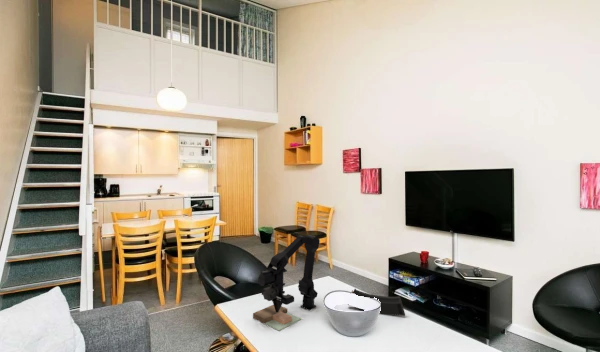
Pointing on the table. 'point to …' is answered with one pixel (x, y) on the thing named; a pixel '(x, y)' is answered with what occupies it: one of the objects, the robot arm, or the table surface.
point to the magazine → (386, 303)
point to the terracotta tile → (282, 318)
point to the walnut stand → (267, 313)
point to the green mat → (280, 326)
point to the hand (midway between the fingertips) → (277, 312)
